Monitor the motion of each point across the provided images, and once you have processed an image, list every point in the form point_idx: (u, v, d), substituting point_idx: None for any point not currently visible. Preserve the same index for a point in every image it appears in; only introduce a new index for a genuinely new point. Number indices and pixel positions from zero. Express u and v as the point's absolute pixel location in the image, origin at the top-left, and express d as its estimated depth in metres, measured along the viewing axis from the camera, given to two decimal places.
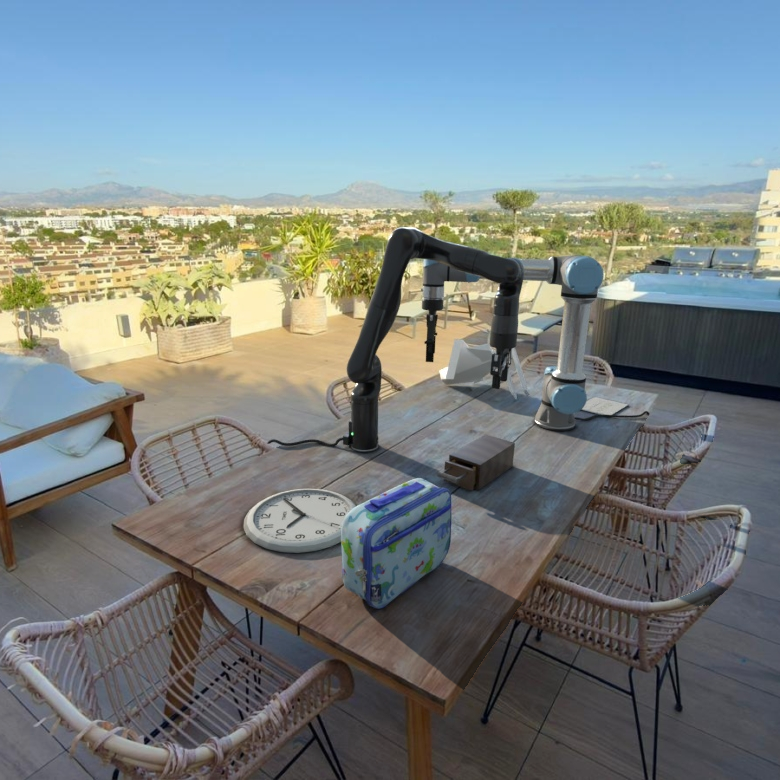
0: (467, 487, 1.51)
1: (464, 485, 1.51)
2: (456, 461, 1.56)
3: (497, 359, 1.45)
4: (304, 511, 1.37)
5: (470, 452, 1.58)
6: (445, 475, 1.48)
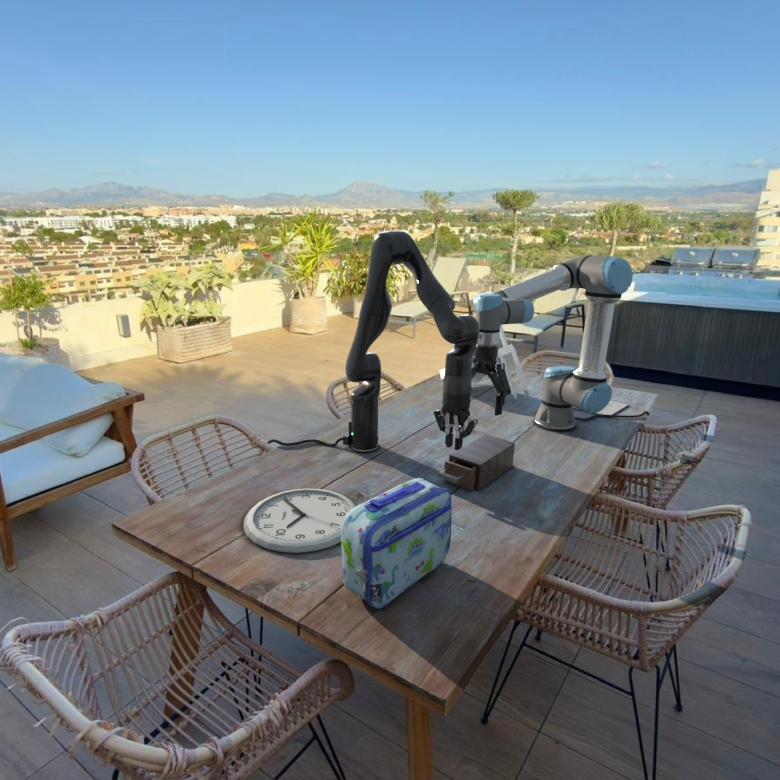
0: (467, 487, 1.51)
1: (464, 485, 1.51)
2: (456, 461, 1.56)
3: (474, 424, 1.41)
4: (304, 511, 1.37)
5: (470, 452, 1.58)
6: (445, 475, 1.48)
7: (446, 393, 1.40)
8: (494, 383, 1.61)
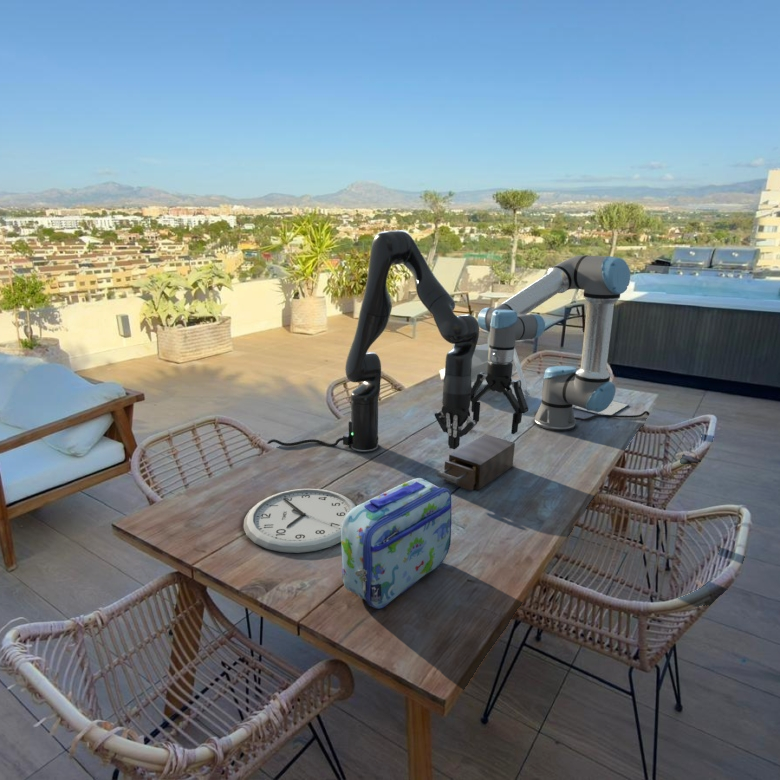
0: (467, 487, 1.51)
1: (464, 485, 1.51)
2: (456, 461, 1.56)
3: (472, 425, 1.42)
4: (304, 511, 1.37)
5: (470, 452, 1.58)
6: (445, 475, 1.48)
7: (446, 393, 1.40)
8: (511, 401, 1.57)
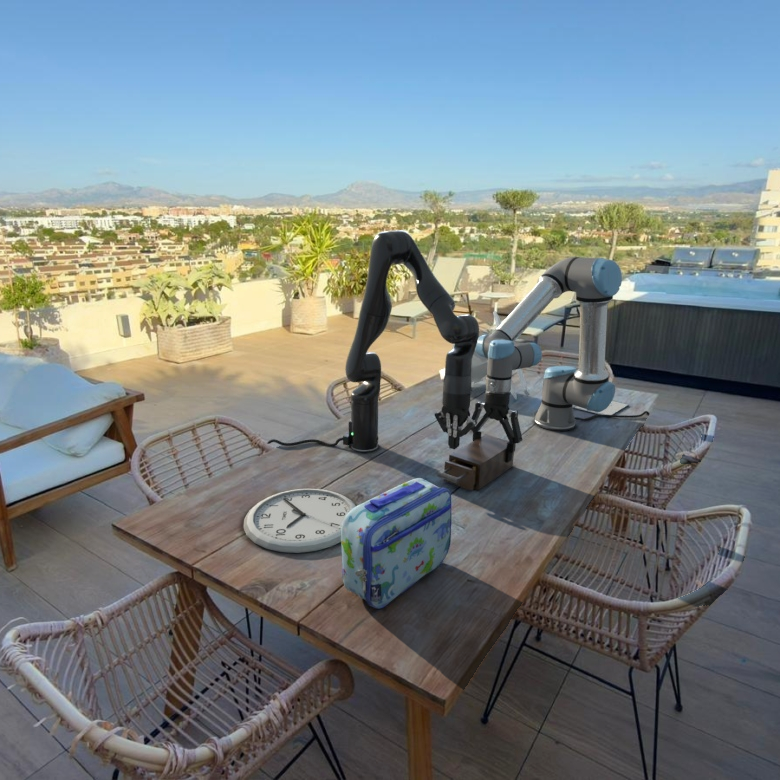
0: (467, 487, 1.51)
1: (464, 485, 1.51)
2: (456, 461, 1.56)
3: (472, 425, 1.42)
4: (304, 511, 1.37)
5: (470, 452, 1.58)
6: (445, 475, 1.48)
7: (446, 393, 1.40)
8: (506, 430, 1.61)
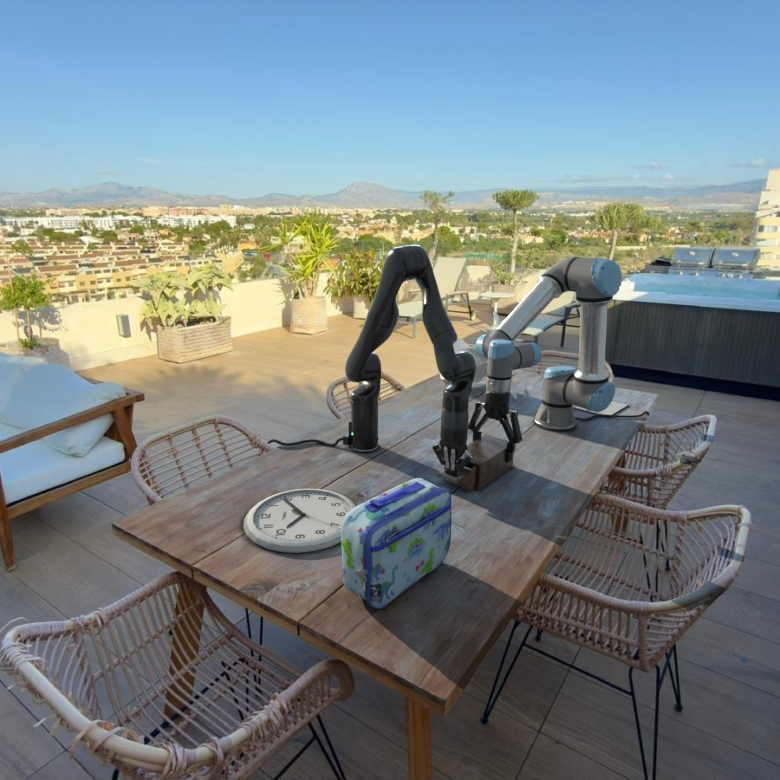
0: (467, 487, 1.51)
1: (464, 485, 1.51)
2: None
3: (470, 459, 1.44)
4: (304, 511, 1.37)
5: (470, 452, 1.58)
6: (445, 475, 1.48)
7: (444, 428, 1.42)
8: (506, 430, 1.61)
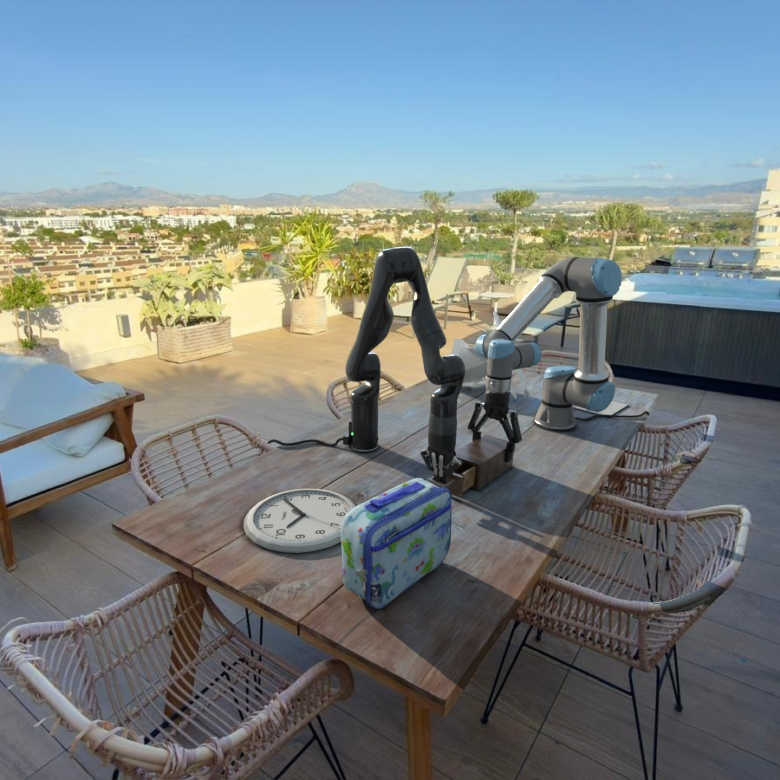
0: (456, 494, 1.46)
1: (453, 492, 1.47)
2: None
3: (458, 466, 1.40)
4: (304, 511, 1.37)
5: (470, 452, 1.58)
6: (433, 482, 1.43)
7: (431, 433, 1.38)
8: (506, 430, 1.60)
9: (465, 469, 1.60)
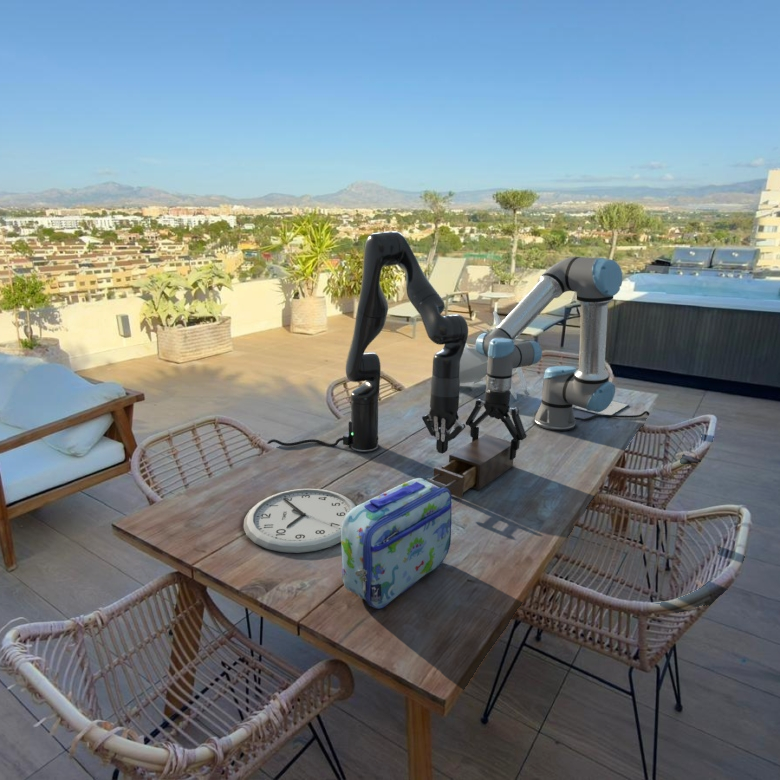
0: (456, 494, 1.47)
1: (453, 492, 1.47)
2: (445, 467, 1.52)
3: (461, 429, 1.37)
4: (304, 511, 1.37)
5: (470, 452, 1.58)
6: (433, 482, 1.43)
7: (433, 396, 1.35)
8: (509, 428, 1.60)
9: (465, 469, 1.60)
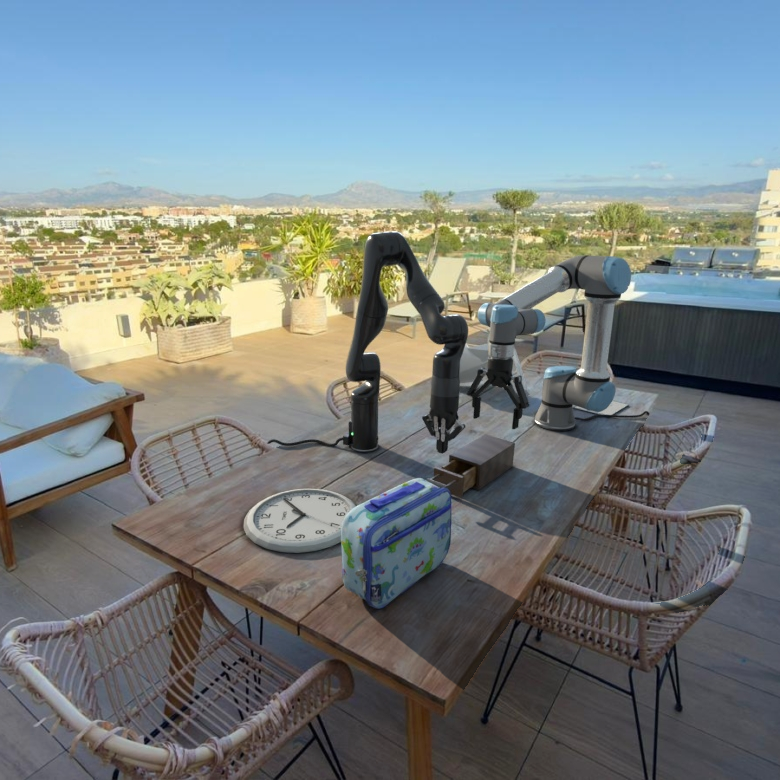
0: (456, 494, 1.47)
1: (453, 492, 1.47)
2: (445, 467, 1.52)
3: (461, 429, 1.37)
4: (304, 511, 1.37)
5: (470, 452, 1.58)
6: (433, 482, 1.43)
7: (433, 396, 1.35)
8: (511, 396, 1.57)
9: (465, 469, 1.60)
